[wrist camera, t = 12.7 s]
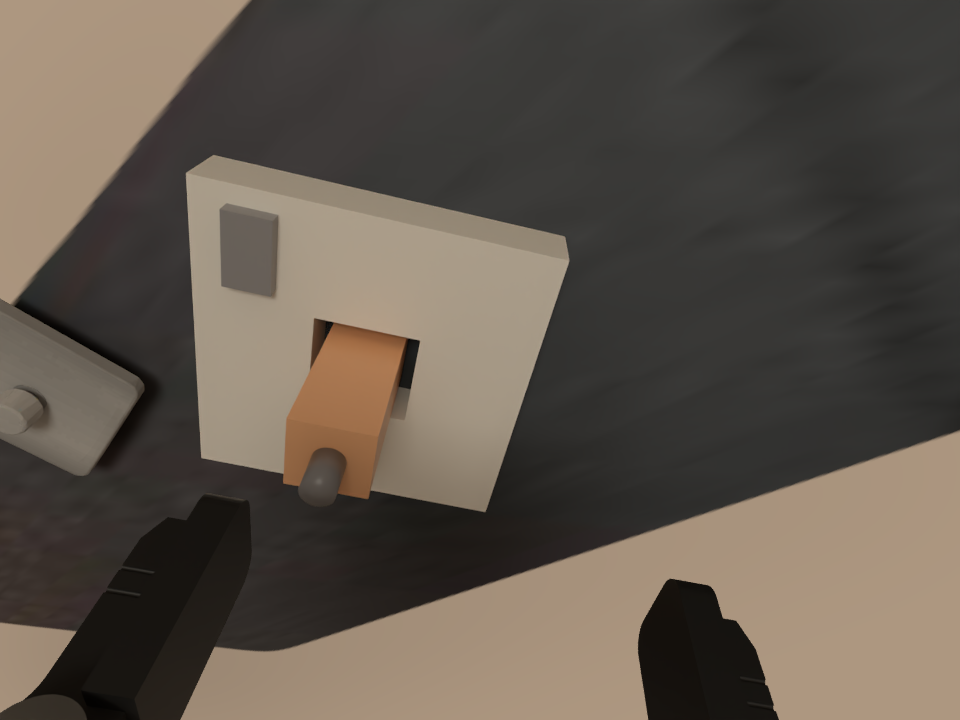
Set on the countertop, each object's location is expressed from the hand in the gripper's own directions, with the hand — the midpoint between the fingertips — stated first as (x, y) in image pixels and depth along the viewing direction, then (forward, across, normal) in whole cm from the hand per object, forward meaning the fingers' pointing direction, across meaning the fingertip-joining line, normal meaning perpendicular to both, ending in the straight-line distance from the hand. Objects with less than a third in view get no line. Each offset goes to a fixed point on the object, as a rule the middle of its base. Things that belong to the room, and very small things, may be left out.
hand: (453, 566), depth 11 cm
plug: (+22, +6, +10) cm, 25 cm away
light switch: (+22, +25, +16) cm, 37 cm away
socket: (+22, +6, +10) cm, 25 cm away
